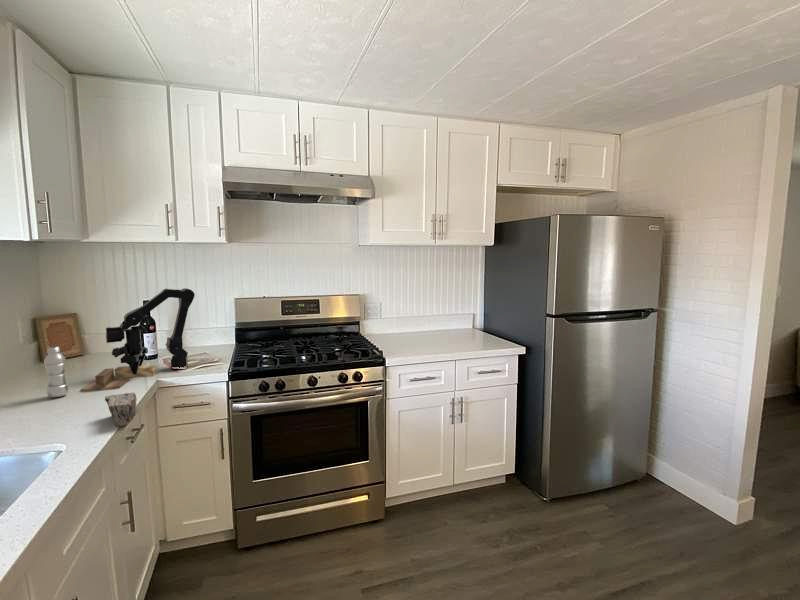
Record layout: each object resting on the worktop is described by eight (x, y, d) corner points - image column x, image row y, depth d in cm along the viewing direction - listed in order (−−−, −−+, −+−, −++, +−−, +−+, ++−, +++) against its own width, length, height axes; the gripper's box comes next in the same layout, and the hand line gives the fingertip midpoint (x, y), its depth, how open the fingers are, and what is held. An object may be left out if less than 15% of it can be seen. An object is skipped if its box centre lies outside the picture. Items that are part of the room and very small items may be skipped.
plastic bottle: (47, 396, 167) (41, 347, 165) (68, 392, 172) (63, 344, 169) (47, 400, 162) (41, 350, 160) (69, 396, 167) (64, 347, 164)
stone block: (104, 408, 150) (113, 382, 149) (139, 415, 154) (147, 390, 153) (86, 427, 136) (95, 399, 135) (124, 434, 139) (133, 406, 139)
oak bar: (156, 373, 198) (156, 365, 197) (153, 375, 194) (152, 367, 193) (119, 374, 195) (119, 366, 195) (115, 377, 191) (114, 369, 191)
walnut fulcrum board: (129, 380, 188) (128, 366, 187) (119, 388, 176) (118, 374, 176) (92, 382, 184) (91, 369, 183) (80, 391, 172) (79, 377, 172)
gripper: (120, 336, 199) (123, 368, 201) (105, 345, 181) (108, 380, 183) (147, 335, 202) (149, 366, 204) (134, 343, 185) (137, 378, 186)
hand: (136, 372), depth 194 cm, fingers closed on oak bar, 4 cm apart
